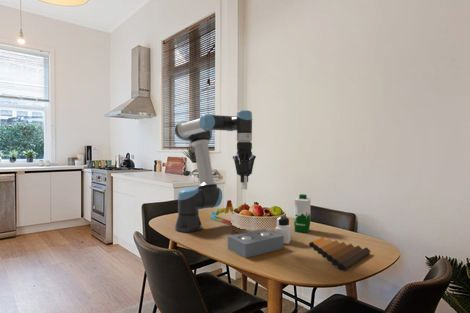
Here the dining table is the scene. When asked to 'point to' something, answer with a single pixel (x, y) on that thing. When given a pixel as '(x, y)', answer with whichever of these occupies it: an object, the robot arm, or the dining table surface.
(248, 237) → the steel peg
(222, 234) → the dining table surface
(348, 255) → the pan flute
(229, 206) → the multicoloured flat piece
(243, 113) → the robot arm
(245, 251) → the peg block
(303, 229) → the milk carton
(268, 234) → the steel peg
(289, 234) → the medicine bottle
